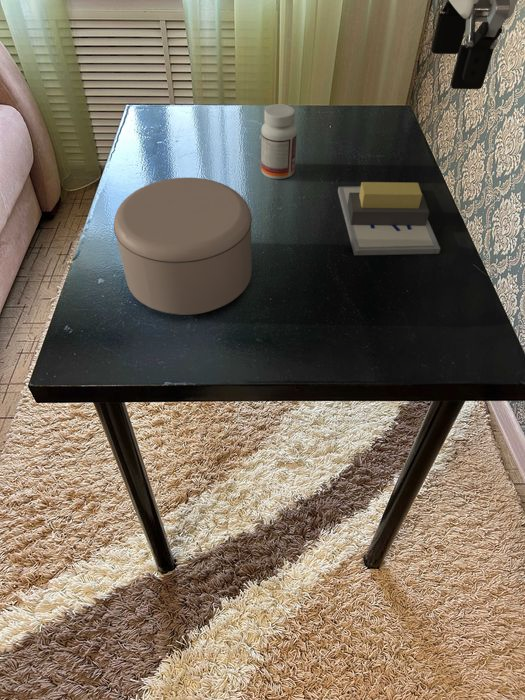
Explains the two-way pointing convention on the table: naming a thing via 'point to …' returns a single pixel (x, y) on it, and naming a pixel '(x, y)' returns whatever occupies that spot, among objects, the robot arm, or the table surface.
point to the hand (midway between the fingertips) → (454, 69)
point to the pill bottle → (278, 141)
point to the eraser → (388, 204)
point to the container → (185, 244)
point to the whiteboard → (387, 235)
